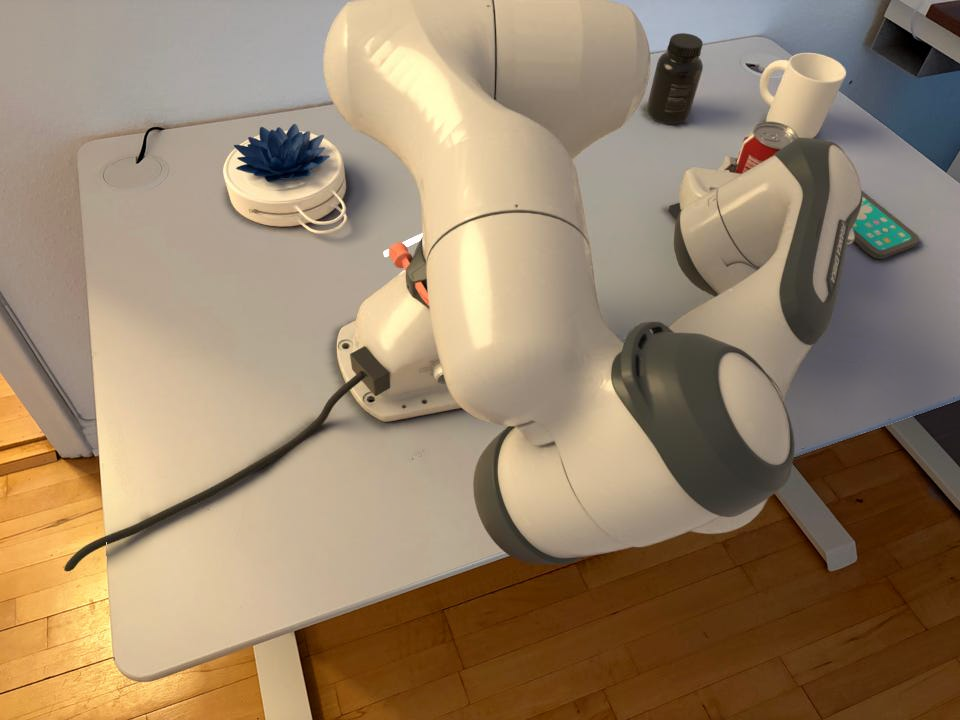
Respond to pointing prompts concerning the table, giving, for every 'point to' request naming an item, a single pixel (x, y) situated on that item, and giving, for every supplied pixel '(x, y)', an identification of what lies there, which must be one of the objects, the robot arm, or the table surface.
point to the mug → (803, 91)
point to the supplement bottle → (676, 80)
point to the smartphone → (881, 231)
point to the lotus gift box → (286, 178)
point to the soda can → (763, 144)
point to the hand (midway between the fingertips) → (759, 166)
